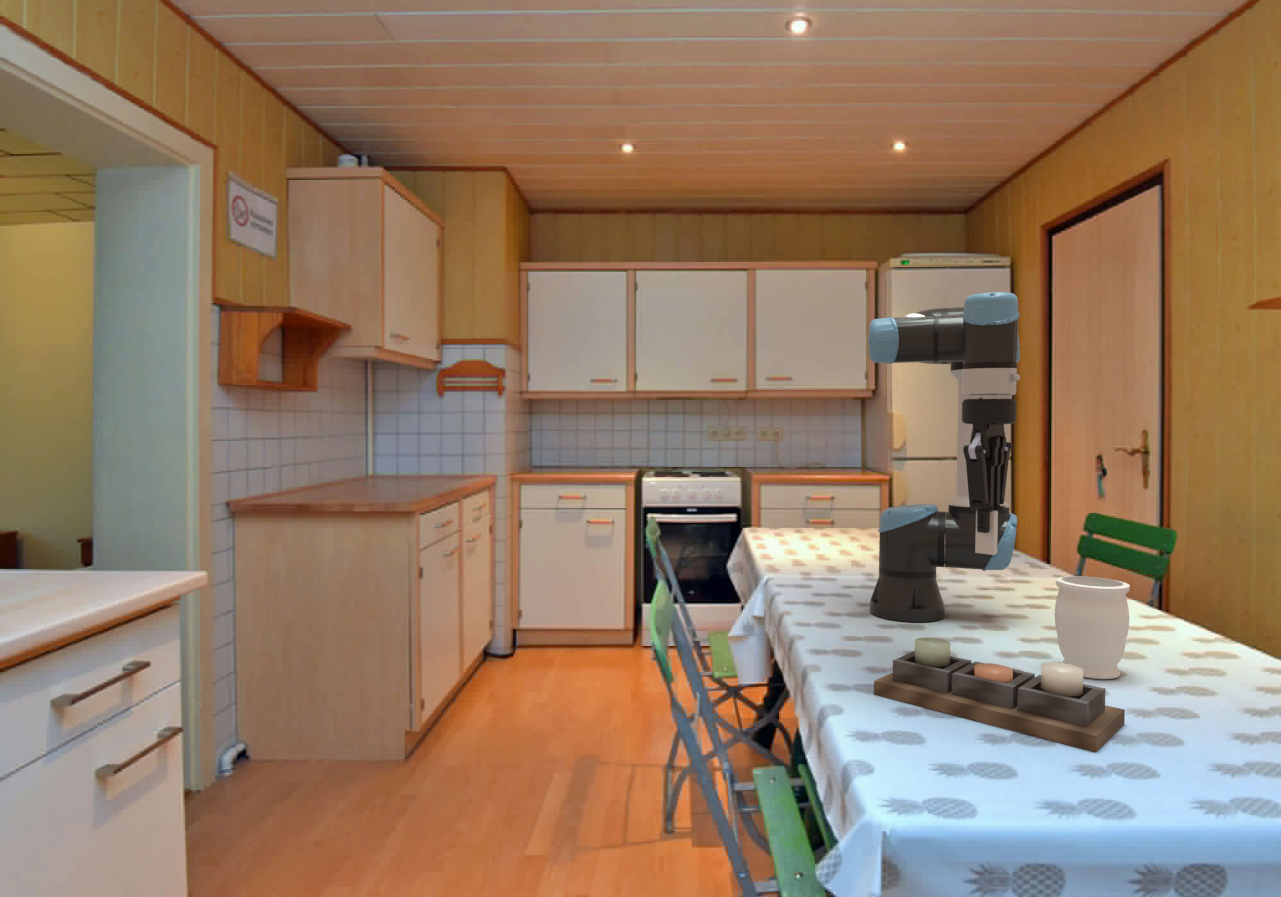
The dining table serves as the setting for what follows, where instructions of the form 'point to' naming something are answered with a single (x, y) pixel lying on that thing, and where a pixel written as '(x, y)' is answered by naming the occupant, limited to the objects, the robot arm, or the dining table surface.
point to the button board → (1004, 701)
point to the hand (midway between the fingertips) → (986, 553)
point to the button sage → (932, 652)
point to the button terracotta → (993, 672)
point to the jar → (1092, 624)
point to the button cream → (1062, 679)
